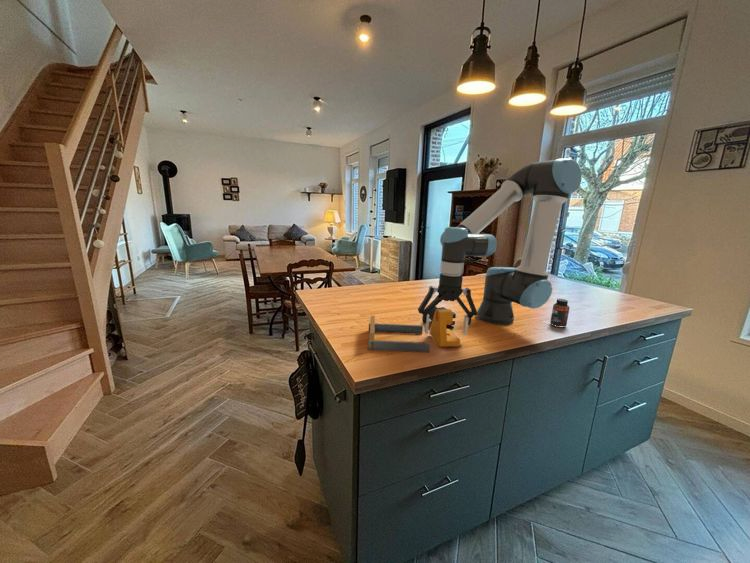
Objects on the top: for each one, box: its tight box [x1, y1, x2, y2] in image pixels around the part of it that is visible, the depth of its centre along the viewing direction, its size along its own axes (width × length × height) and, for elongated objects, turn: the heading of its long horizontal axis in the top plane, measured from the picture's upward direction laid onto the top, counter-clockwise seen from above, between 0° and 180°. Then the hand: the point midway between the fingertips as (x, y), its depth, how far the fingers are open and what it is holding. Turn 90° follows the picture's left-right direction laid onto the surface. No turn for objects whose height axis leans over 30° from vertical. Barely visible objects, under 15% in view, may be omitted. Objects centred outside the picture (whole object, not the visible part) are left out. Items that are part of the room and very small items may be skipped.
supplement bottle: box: [549, 298, 570, 327], centre depth 126 cm, size 6×6×11 cm
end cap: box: [428, 306, 457, 330], centre depth 122 cm, size 10×7×7 cm
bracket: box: [429, 308, 461, 348], centre depth 105 cm, size 11×7×12 cm, turn 8°
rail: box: [367, 315, 431, 353], centre depth 105 cm, size 20×16×6 cm
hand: (445, 333), depth 106 cm, fingers open, 13 cm apart
